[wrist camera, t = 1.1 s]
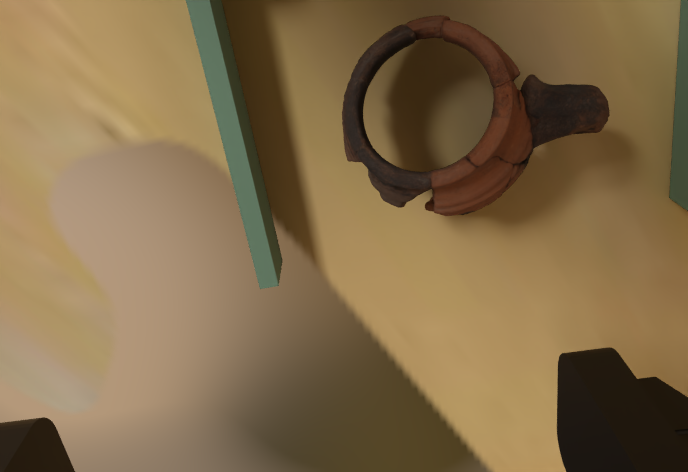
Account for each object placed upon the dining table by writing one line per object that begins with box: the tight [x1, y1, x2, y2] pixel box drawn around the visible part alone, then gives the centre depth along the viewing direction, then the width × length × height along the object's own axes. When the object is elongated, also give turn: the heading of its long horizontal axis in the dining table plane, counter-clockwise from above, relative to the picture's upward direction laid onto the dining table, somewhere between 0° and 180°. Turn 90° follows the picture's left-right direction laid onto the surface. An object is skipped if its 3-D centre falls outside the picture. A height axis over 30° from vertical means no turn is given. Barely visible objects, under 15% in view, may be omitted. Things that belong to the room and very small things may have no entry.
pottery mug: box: [342, 16, 609, 216], centre depth 29 cm, size 12×9×8 cm
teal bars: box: [186, 0, 688, 289], centre depth 29 cm, size 18×25×5 cm
